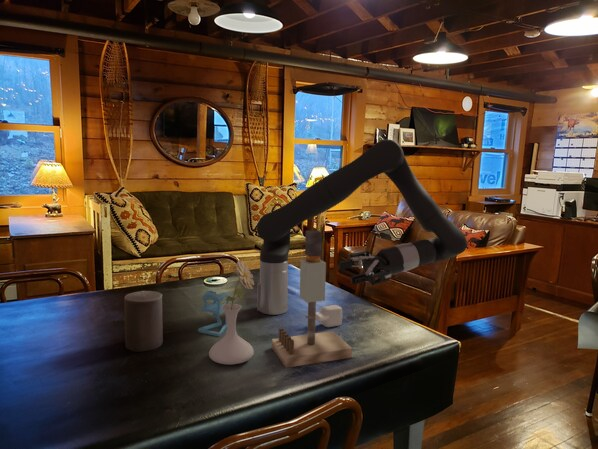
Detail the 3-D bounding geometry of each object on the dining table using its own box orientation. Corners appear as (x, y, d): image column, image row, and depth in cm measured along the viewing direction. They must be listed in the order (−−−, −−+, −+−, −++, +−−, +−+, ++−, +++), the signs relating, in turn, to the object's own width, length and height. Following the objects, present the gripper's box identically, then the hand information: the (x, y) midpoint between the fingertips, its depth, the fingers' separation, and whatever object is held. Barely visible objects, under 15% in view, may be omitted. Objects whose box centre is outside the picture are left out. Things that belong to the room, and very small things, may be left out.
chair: (235, 327, 135) (235, 288, 133) (219, 336, 127) (219, 296, 125) (214, 322, 138) (214, 285, 136) (197, 332, 130) (197, 292, 129)
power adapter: (311, 331, 132) (311, 313, 131) (303, 326, 136) (304, 307, 135) (343, 326, 137) (344, 308, 136) (335, 320, 141) (336, 303, 140)
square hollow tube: (306, 302, 113) (307, 263, 111) (299, 296, 117) (300, 259, 116) (324, 300, 114) (325, 262, 113) (317, 294, 119) (318, 258, 117)
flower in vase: (234, 373, 106) (233, 271, 102) (199, 361, 112) (197, 264, 108) (266, 353, 117) (267, 260, 113) (233, 343, 123) (232, 254, 119)
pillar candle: (127, 354, 115) (126, 298, 113) (123, 340, 123) (121, 288, 121) (166, 348, 119) (165, 294, 117) (159, 335, 128) (158, 284, 126)
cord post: (286, 367, 109) (287, 237, 104) (271, 347, 121) (272, 229, 116) (351, 357, 116) (356, 234, 111) (332, 339, 127) (335, 226, 122)
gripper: (385, 237, 129) (333, 250, 125) (411, 257, 116) (354, 273, 112) (386, 259, 132) (335, 273, 128) (412, 282, 119) (356, 298, 115)
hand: (344, 273), depth 120 cm, fingers open, 8 cm apart
